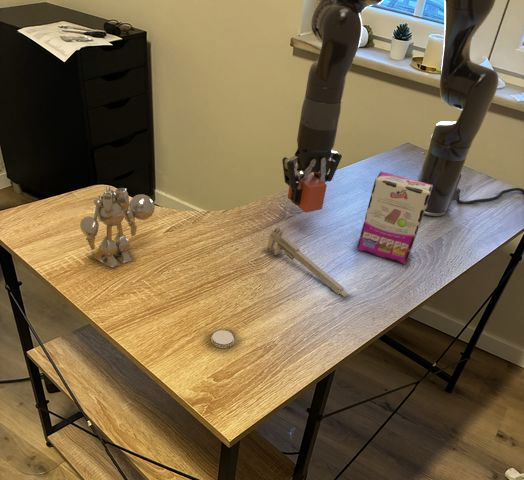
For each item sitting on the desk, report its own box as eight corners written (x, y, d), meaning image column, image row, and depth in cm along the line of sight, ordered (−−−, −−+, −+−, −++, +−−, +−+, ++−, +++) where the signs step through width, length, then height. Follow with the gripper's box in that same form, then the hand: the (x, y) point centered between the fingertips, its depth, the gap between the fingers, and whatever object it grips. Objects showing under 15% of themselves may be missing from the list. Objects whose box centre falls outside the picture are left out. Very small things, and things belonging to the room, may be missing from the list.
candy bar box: (409, 254, 117) (434, 184, 106) (405, 265, 113) (431, 193, 102) (361, 239, 119) (380, 169, 108) (355, 249, 115) (375, 178, 104)
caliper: (266, 251, 111) (270, 224, 106) (270, 249, 111) (274, 223, 107) (344, 298, 101) (351, 271, 97) (347, 296, 102) (355, 269, 98)
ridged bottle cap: (205, 338, 88) (205, 335, 88) (223, 329, 90) (224, 326, 90) (221, 351, 86) (221, 348, 86) (239, 341, 89) (239, 338, 88)
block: (303, 194, 118) (307, 170, 115) (322, 209, 114) (327, 184, 110) (287, 197, 116) (291, 173, 113) (305, 212, 112) (310, 188, 109)
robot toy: (144, 237, 109) (141, 167, 99) (162, 251, 106) (161, 180, 96) (79, 259, 101) (69, 185, 90) (96, 275, 98) (88, 200, 88)
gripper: (300, 132, 98) (287, 215, 110) (359, 124, 104) (341, 204, 116) (278, 117, 102) (268, 199, 114) (336, 111, 109) (321, 188, 120)
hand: (305, 201), depth 115 cm, fingers closed on block, 4 cm apart
